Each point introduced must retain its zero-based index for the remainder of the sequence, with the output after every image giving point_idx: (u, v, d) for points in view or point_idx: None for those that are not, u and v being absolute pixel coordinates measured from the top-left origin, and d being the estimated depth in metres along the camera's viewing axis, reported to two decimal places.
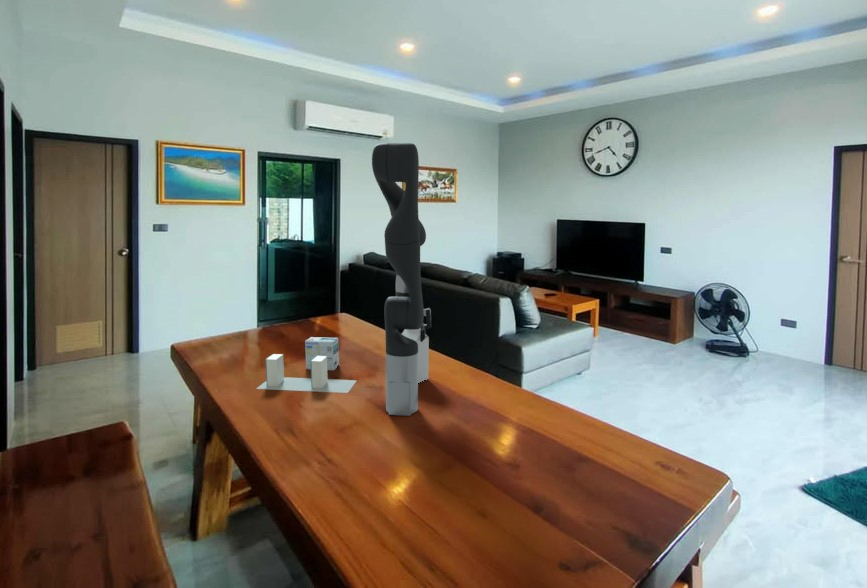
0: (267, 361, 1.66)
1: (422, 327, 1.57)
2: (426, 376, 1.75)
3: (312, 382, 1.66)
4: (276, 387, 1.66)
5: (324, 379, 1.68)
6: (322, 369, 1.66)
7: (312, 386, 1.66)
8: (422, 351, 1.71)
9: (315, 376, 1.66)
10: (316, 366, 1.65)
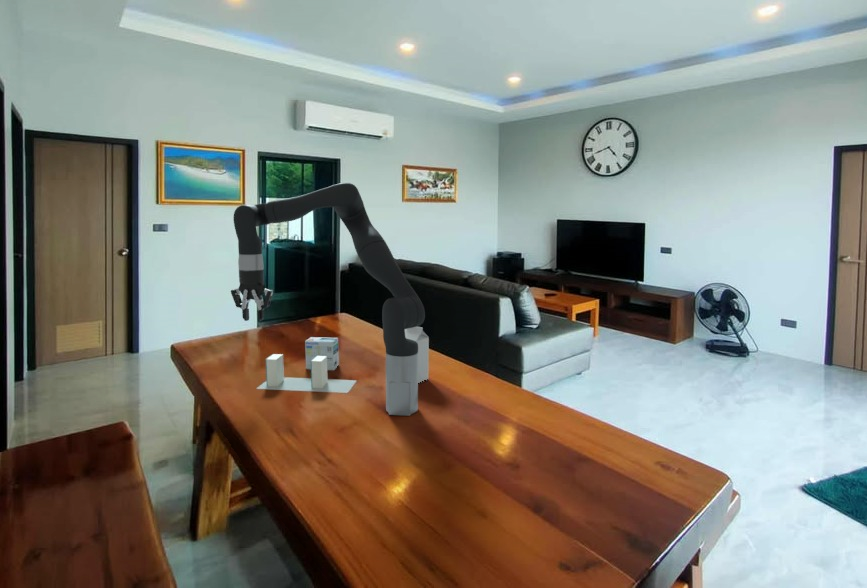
0: (267, 361, 1.66)
1: (259, 307, 1.66)
2: (426, 376, 1.75)
3: (312, 382, 1.66)
4: (276, 387, 1.66)
5: (324, 379, 1.68)
6: (322, 369, 1.66)
7: (312, 386, 1.66)
8: (422, 351, 1.71)
9: (315, 376, 1.66)
10: (316, 366, 1.65)
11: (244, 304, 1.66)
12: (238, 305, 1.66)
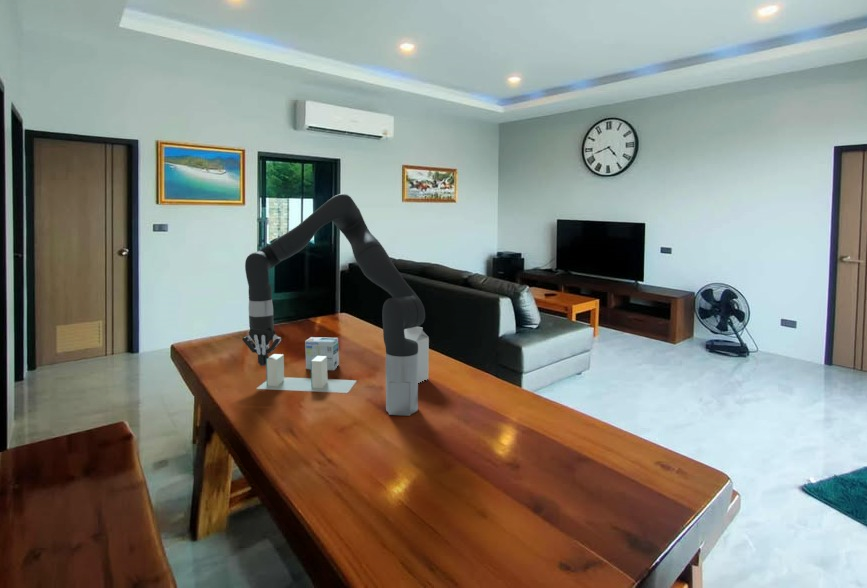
0: (268, 361, 1.66)
1: (263, 352, 1.68)
2: (426, 376, 1.75)
3: (312, 382, 1.66)
4: (276, 387, 1.66)
5: (324, 379, 1.68)
6: (322, 369, 1.66)
7: (312, 386, 1.66)
8: (422, 351, 1.71)
9: (315, 376, 1.66)
10: (316, 366, 1.65)
11: (258, 349, 1.68)
12: (254, 350, 1.68)
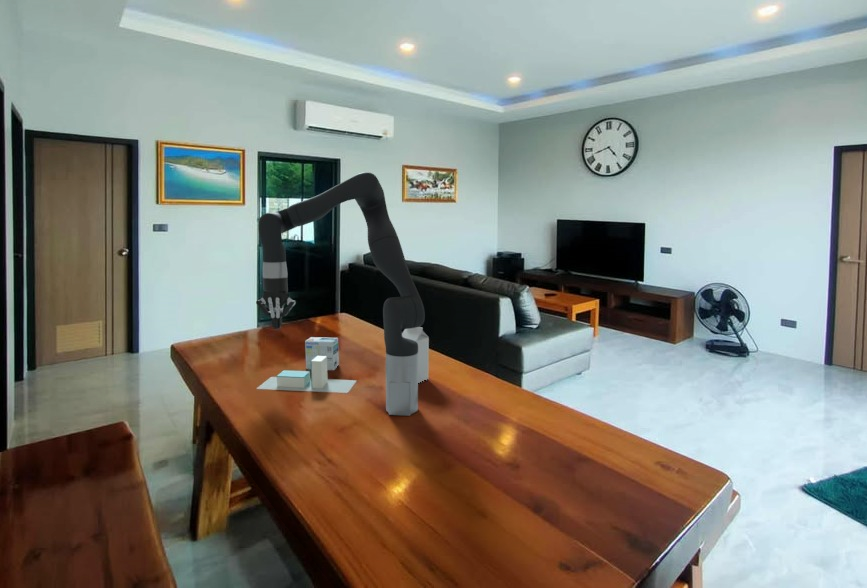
0: (301, 378, 1.66)
1: (277, 315, 1.65)
2: (426, 376, 1.75)
3: (312, 382, 1.66)
4: (276, 387, 1.66)
5: (324, 379, 1.68)
6: (322, 369, 1.66)
7: (312, 386, 1.66)
8: (422, 351, 1.71)
9: (315, 376, 1.66)
10: (316, 366, 1.65)
11: (272, 312, 1.65)
12: (268, 314, 1.65)
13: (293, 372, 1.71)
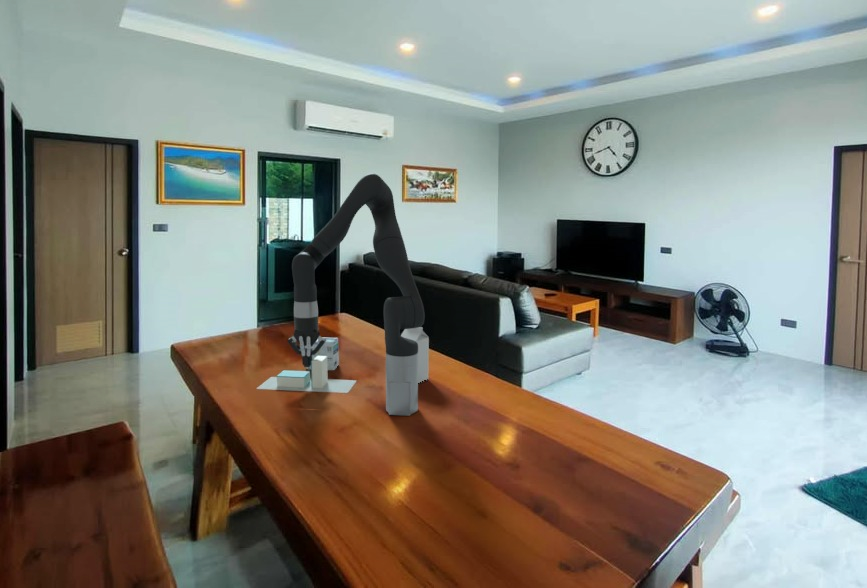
0: (301, 378, 1.66)
1: (308, 353, 1.66)
2: (426, 376, 1.75)
3: (312, 382, 1.66)
4: (276, 387, 1.66)
5: (324, 379, 1.68)
6: (322, 369, 1.66)
7: (312, 386, 1.66)
8: (422, 351, 1.71)
9: (315, 376, 1.66)
10: (316, 366, 1.65)
11: (303, 350, 1.66)
12: (298, 352, 1.67)
13: (293, 372, 1.71)
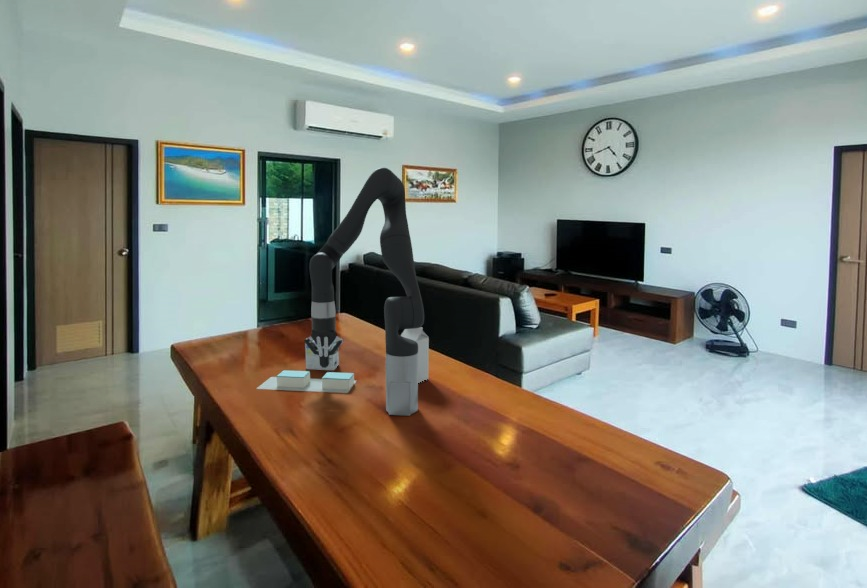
0: (301, 378, 1.66)
1: (325, 354, 1.66)
2: (426, 376, 1.75)
3: (327, 379, 1.65)
4: (276, 387, 1.66)
5: None
6: None
7: (323, 379, 1.66)
8: (422, 351, 1.71)
9: (333, 382, 1.65)
10: (344, 384, 1.65)
11: (321, 351, 1.66)
12: (316, 352, 1.66)
13: (293, 372, 1.71)
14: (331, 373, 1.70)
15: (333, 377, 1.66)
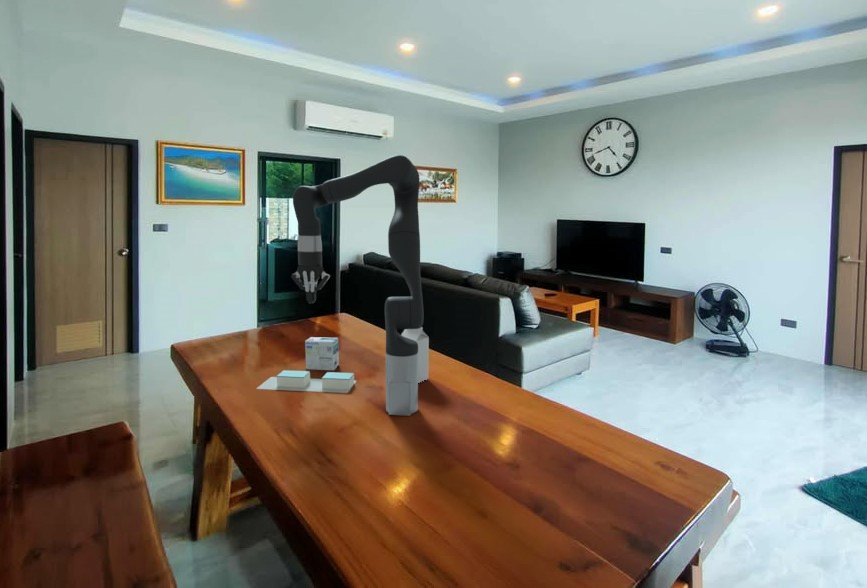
0: (301, 378, 1.66)
1: (311, 289, 1.66)
2: (426, 376, 1.75)
3: (327, 379, 1.65)
4: (276, 387, 1.66)
5: None
6: None
7: (323, 379, 1.66)
8: (422, 351, 1.71)
9: (333, 382, 1.65)
10: (344, 384, 1.65)
11: (307, 286, 1.66)
12: (302, 287, 1.66)
13: (293, 372, 1.71)
14: (331, 373, 1.70)
15: (333, 377, 1.66)
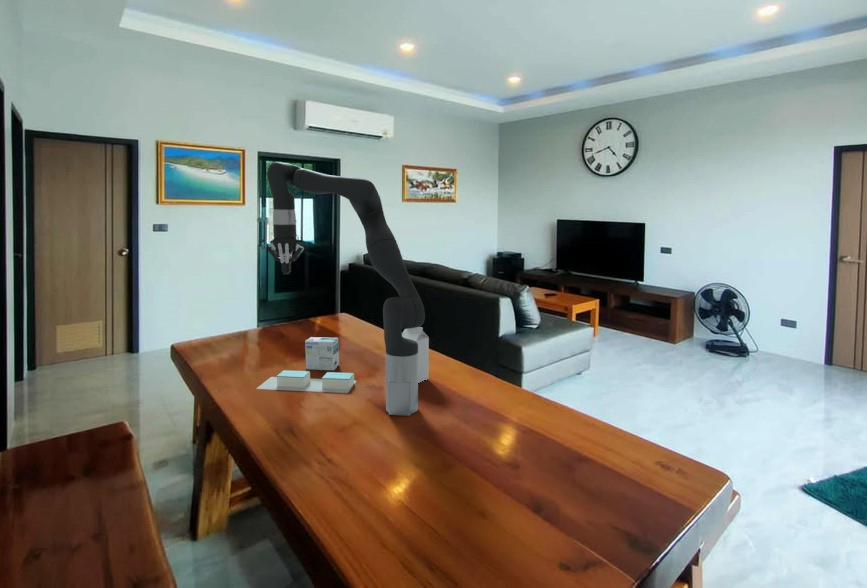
0: (301, 378, 1.66)
1: (286, 260, 1.76)
2: (426, 376, 1.75)
3: (327, 379, 1.65)
4: (276, 387, 1.66)
5: None
6: None
7: (323, 379, 1.66)
8: (422, 351, 1.71)
9: (333, 382, 1.65)
10: (344, 384, 1.65)
11: (282, 258, 1.76)
12: (277, 259, 1.76)
13: (293, 372, 1.71)
14: (331, 373, 1.70)
15: (333, 377, 1.66)
